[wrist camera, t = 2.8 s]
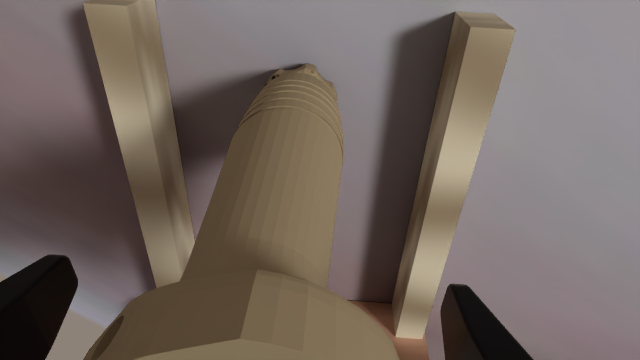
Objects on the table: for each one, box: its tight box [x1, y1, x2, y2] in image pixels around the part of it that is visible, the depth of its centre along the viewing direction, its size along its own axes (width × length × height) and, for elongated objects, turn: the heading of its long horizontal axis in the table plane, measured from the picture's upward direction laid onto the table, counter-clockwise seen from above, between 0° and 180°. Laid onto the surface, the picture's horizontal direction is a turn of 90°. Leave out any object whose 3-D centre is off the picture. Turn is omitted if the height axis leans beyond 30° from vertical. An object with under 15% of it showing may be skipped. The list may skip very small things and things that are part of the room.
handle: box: [84, 63, 400, 360], centre depth 13 cm, size 5×6×15 cm
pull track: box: [83, 0, 516, 360], centre depth 21 cm, size 20×16×4 cm
